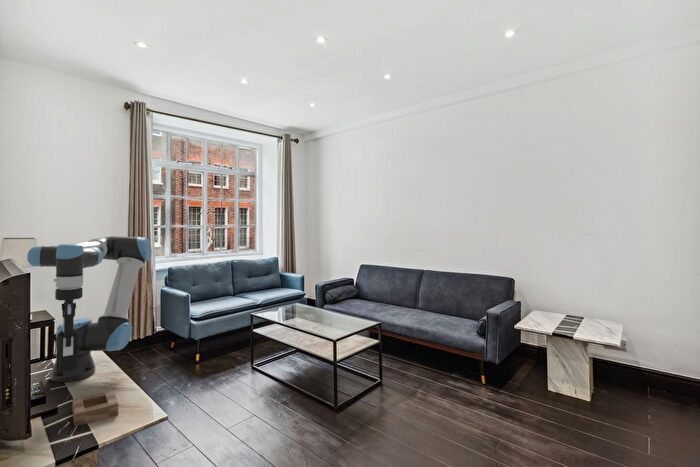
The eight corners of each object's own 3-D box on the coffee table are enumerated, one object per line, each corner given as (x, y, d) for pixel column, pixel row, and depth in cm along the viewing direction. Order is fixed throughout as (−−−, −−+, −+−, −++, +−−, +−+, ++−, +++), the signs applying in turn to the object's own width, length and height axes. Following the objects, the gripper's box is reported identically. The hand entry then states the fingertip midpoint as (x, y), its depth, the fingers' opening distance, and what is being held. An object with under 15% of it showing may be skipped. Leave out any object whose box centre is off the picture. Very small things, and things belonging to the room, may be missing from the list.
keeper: (72, 410, 123) (72, 399, 123) (113, 400, 131) (113, 389, 131) (74, 426, 114) (74, 414, 114) (118, 414, 122) (118, 403, 122)
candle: (78, 368, 125) (80, 298, 125) (61, 372, 121) (63, 301, 120) (72, 364, 128) (74, 296, 128) (55, 369, 124) (57, 298, 123)
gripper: (55, 284, 129) (54, 346, 129) (55, 293, 114) (53, 363, 115) (81, 282, 133) (79, 342, 134) (84, 291, 119) (82, 358, 120)
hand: (67, 352), depth 124 cm, fingers closed on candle, 6 cm apart
